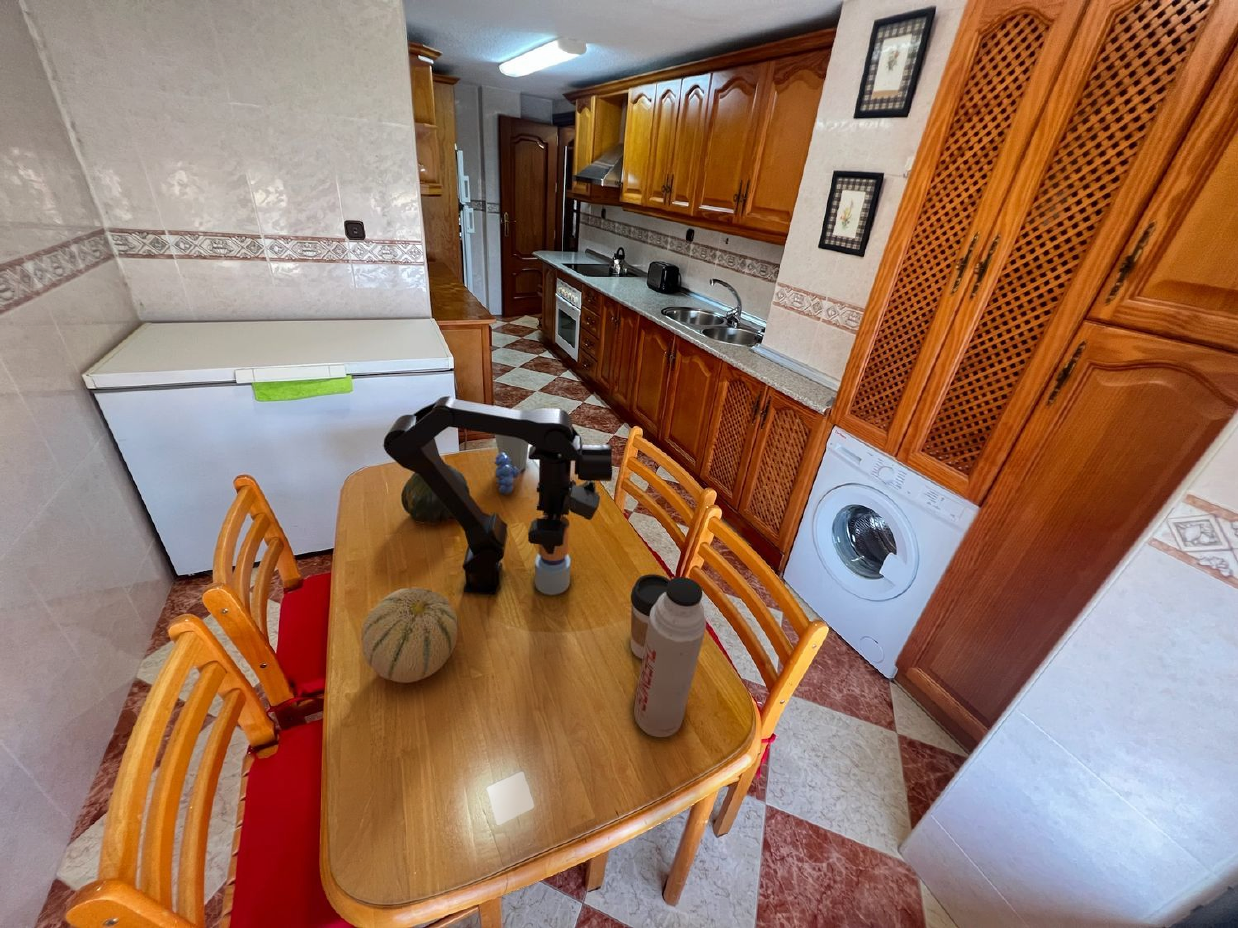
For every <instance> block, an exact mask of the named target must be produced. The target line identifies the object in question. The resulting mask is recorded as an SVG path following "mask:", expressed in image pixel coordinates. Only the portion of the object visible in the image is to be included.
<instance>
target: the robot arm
mask: <svg viewBox="0 0 1238 928" xmlns="http://www.w3.org/2000/svg"><path fill="white" fill-rule="evenodd" d="M448 428H455V429H460V430H467V431H472V432H479V433H486V434H491V435H494V434H496V435H502V436H509V437H515V438H518V439H522V440H524V441H526V442H527V443H529V444H528V445H530V446H529V448H528V455H527V459H529V460H533V461H534V460H535V461H538V469H539V470H538V482H537V485H536V493H538V501H537V503H536V511H538V512H539V511H540V512H542V516H548V518H547V519H541V518H542V517H536V518H535V519H534V520H532V521H531V523H530V527H529V529H528V532H527V541H528V542H529V544H532V545H538V544H540V545H542V546H543V548H544V549H545V551H546V552H547V554H553V552H554V549H555V546H561V545H563V542H564V538H565V533H566V525H565V524H564V523H563V522H562V521H560V520H561V516H569V515H570V512H571V513H573V514H575V515H577V516H580V517H582V518H584V519H585V520H587V521H590V520H593V518H594V516H595V514H596V512H597V510H598V509H599V506H600V500H601V496H600V495H599V493H600V492H599V491H596V490H597V489H596V482H611V481H612V478H613V465H612V464H613V456H612V454H613V449H612V445H611V444H605V443H604V444H583V443H582V442H583V441H582V436H581V435H580V434H579V433H578V431H577V430H576V428H575V427H574V426H573V420H572V417H571V416H570V414H569V413H568V412H567V411H566V410H564V409H562V408H554V407H553V408H551V407H550V408H549V407H548V408H547V407H546V408H545V407H539V408H534V409H529V410H519V409H514V408H508V407H502V406H496V405H491V404H484V403H480V402H473V401H468V400H461V399H456V398H455V397H452V396H450V395H449V396H446V395H445V396H442V397H439V399H437V400H436V401H435V402H433V403H431V404H429V405H426V406H424V407H422V408H420V409H418V410H417V411H416V412H414V413H412V414H403V415H401V416H400V417H398V418H397V419H396V420H395V422H394V424H393V425H392V427H391V428H390V429H389V430H388V432H387V433H386V435H385V436H384V439H383V444H382V445H383V446H382V447H383V449H384V451H385V453H386V454H387V455H388V456H389V457H390V458H391V459H392V460H394V462H396V463H397V464H398V465H399V466H400V467H402V468H403V469H406V470H409V471H411V472H413V473H415V472H416V473H417V474H418V475H419V476H420V477H421V478H422V479H423V481H424V482H425V483H426V484H427V485H428V487H429V488H430V489H431V490H432V492H433V493H434V494H435V495H436V496H437V498H438V499H439V500H440V501H441V503H442V504H443V505H444V506H445V507H446V509H447V510H448V511H449V512H450V513H451V515H452V516H453V517H454V518H455V519H454V520H455V521H456V522H457V524H458V525H459V526H460V527H461V528H462V529H463V530H462V531H464V535H465V539H466V542H467V548H466V552H465V556H464V559H463V563H462V569H463V570H464V574H465V584H464V586H463V589H462V590H463V592H465V593H474V594H484V595H485V594H486V595H495V594H496V592H497V590H498V588H499V587H500V585H501V584H502V581H503V578H504V572H503V571H504V570H503V563H502V562H501V561H502V560H503V558H504V556H505V552H506V545H507V539H508V532H509V531H508V523H506V522H505V521H503V519H502V518H501V516H500V514H499V513H498V512H494V513H492V514H489V513H486V512H484V511H483V510H482V508H480V506H479V505H478V504H477V502H476V501H475V500H474V498H473V497H472V496H471V494H470V495H469V493H468V492H467V491H466V489H465V488H464V487H463V486H462V484H461V483H460V482H459V480H458V479H457V478H456V476H455V475H454V474H453V473H452V471H451V470H450V469H449V467H448V466H447V465H448V464H447V463H446V462H445V460H444V459H443V458H442V457H441V455H440V453H439V449H438V445H437V441H436V437H437V436H438V435H440V434H441V433H442V432H443V431H445V430H446V429H448ZM572 462H574V467H573V468H574V471H573V472H574V475H575V476H577V480H580V481H583V483H582V484H579V485H578V486H577V482H576V481H575V480H574V478H573V476H571V475H572V473H571V472H572ZM446 464H447V465H446ZM555 515H556V517H555ZM554 518H555V520H554Z"/></svg>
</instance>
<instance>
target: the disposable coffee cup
mask: <svg viewBox="0 0 1238 928" xmlns="http://www.w3.org/2000/svg"><path fill="white" fill-rule="evenodd" d="M493 436H494V439H495V443H496V447H497V452H498V454H499V453H501V452H503V453H505V454H506V455H507V456H508V457H509V458H510V459H511V462H510V463H509V464H511V466H512V467H516V468H518V469H519V470H520V471H521V472H522V470H524V469H525V467H526V464H527V459H528V453H529V445H530V444H529V443H527V442H526V441H524V440H522V439H518V438H515V437H509V436H502V435H496V434H493Z"/></svg>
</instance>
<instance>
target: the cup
mask: <svg viewBox="0 0 1238 928" xmlns="http://www.w3.org/2000/svg"><path fill="white" fill-rule="evenodd" d="M555 517H556V515H555ZM540 518H541V519H547V518H548V516H544V515H542V516H541V517H540ZM554 520H555V518H554ZM560 521H562V522H563V523H564V524H565V525H566V533H565V538H564V542H563V545H561V546H555V549H554V552H553V554H547V552H546V551H545V549H544V548H543V546H542V545H540V544H537V551H538V554H539V555H540V556H541V557H542V558H543V559H546V560H549V561H557V560H561V559H563V558H564V557H566V555H567V554H568V555H569V548H570V528H571V527H570V526H571V522H570V520H569V518H567V517H566V515H563V516H561V520H560Z"/></svg>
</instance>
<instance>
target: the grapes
mask: <svg viewBox="0 0 1238 928" xmlns="http://www.w3.org/2000/svg"><path fill="white" fill-rule="evenodd" d="M510 462H511V459H510V458H509V457H508V456H507V455H506V454H505V453H503V452H501V453H499V452H498V454H497V455H496V457H495V461H494V464H495V465H496V466H497V468H496V470H495V471H494V473H495V474H494V476H495V477H496V478H497V479H498V480H497V481H496V484H497V485H498V486H499V488H498V491H499V492H500V493H501V494H502V495H503V494H505V495H509V494H511V493H512V491H513V490H514V486H513V485H514V482H515V481H516V480H515V478H517V477H518V476H519V475H520V474H521V473H522V470H521V471H520V470H519V469H518V468H516V467H512V466H511V464H509V463H510Z"/></svg>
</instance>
